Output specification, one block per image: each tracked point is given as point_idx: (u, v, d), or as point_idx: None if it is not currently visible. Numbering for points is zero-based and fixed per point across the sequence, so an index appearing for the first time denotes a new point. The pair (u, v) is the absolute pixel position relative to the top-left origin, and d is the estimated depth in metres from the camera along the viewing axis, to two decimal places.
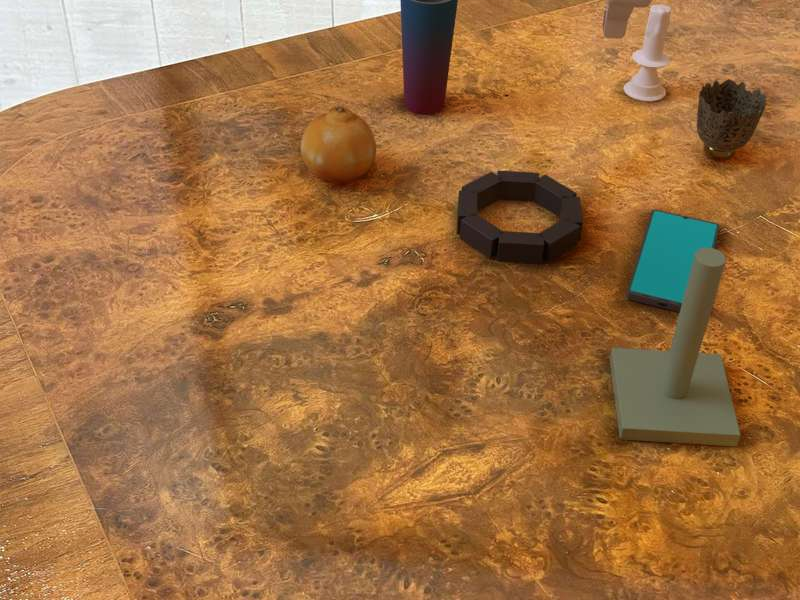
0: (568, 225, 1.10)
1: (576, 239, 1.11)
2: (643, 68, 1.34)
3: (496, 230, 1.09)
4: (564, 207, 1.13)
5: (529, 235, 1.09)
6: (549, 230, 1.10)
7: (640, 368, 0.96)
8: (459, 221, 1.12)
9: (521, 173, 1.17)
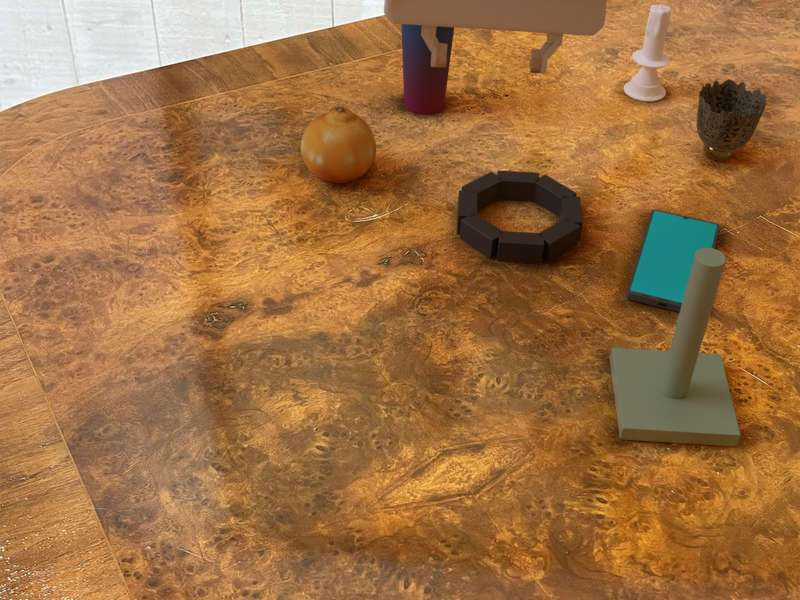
0: (568, 225, 1.10)
1: (576, 239, 1.11)
2: (643, 68, 1.34)
3: (496, 230, 1.09)
4: (564, 207, 1.13)
5: (529, 235, 1.09)
6: (549, 230, 1.10)
7: (640, 368, 0.96)
8: (459, 221, 1.12)
9: (521, 173, 1.17)
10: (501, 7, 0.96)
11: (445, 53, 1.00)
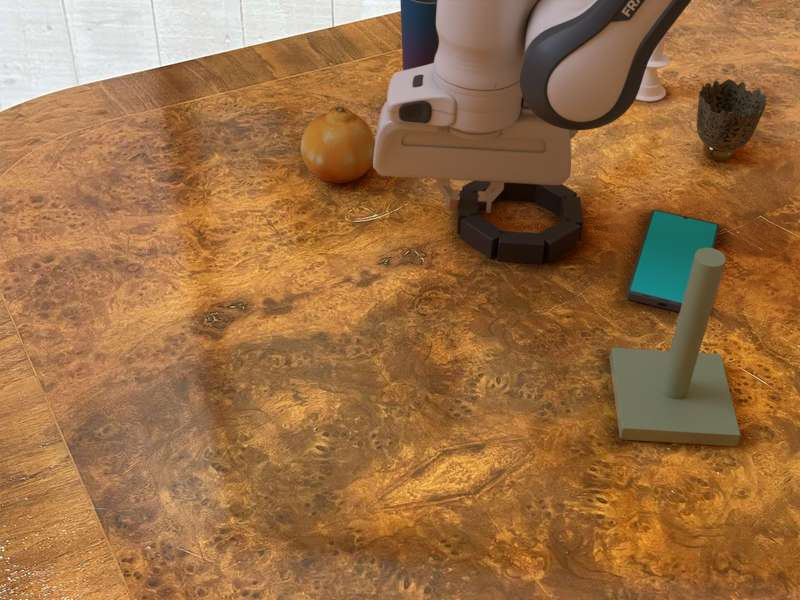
0: (569, 225, 1.10)
1: (576, 239, 1.11)
2: None
3: (496, 230, 1.09)
4: (564, 207, 1.13)
5: (529, 235, 1.09)
6: (549, 230, 1.10)
7: (640, 368, 0.96)
8: (459, 221, 1.12)
9: None
10: (477, 163, 1.07)
11: (458, 200, 1.12)
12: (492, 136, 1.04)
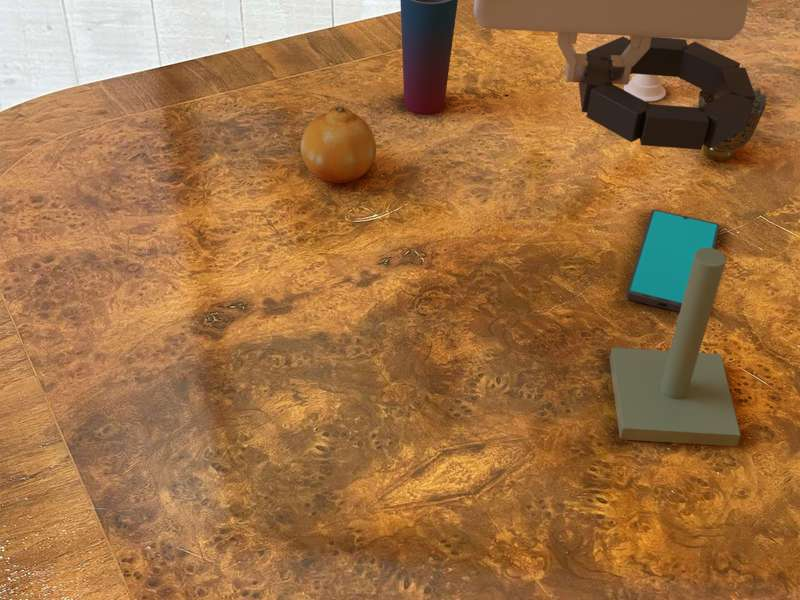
0: (738, 100, 0.81)
1: (745, 120, 0.82)
2: None
3: (641, 103, 0.80)
4: (727, 78, 0.84)
5: (687, 110, 0.80)
6: (712, 105, 0.81)
7: (640, 368, 0.96)
8: (587, 93, 0.83)
9: (663, 39, 0.88)
10: (618, 7, 0.78)
11: (585, 65, 0.83)
12: None
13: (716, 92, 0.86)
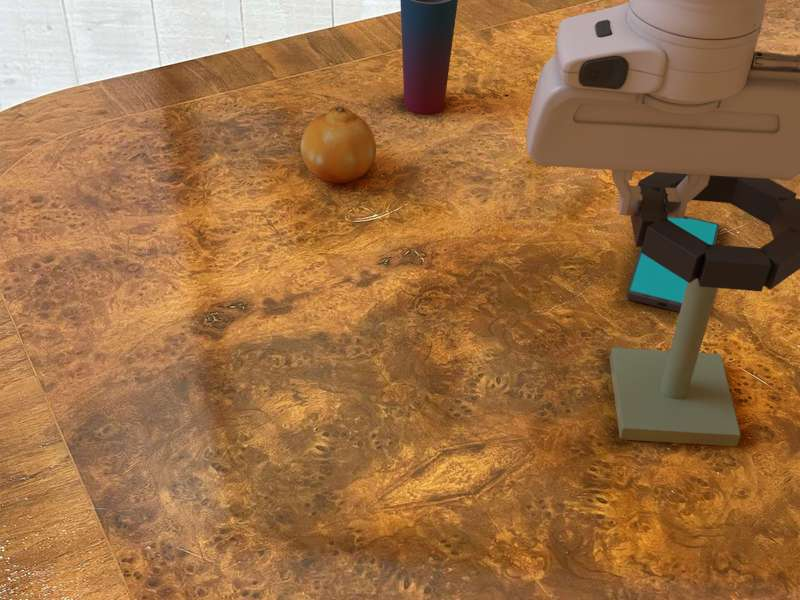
0: (798, 239, 0.79)
1: None
2: None
3: (700, 243, 0.78)
4: (785, 212, 0.81)
5: (747, 251, 0.78)
6: (772, 245, 0.78)
7: (640, 368, 0.96)
8: (642, 229, 0.80)
9: None
10: (678, 147, 0.76)
11: (640, 200, 0.80)
12: (708, 109, 0.73)
13: (772, 223, 0.84)
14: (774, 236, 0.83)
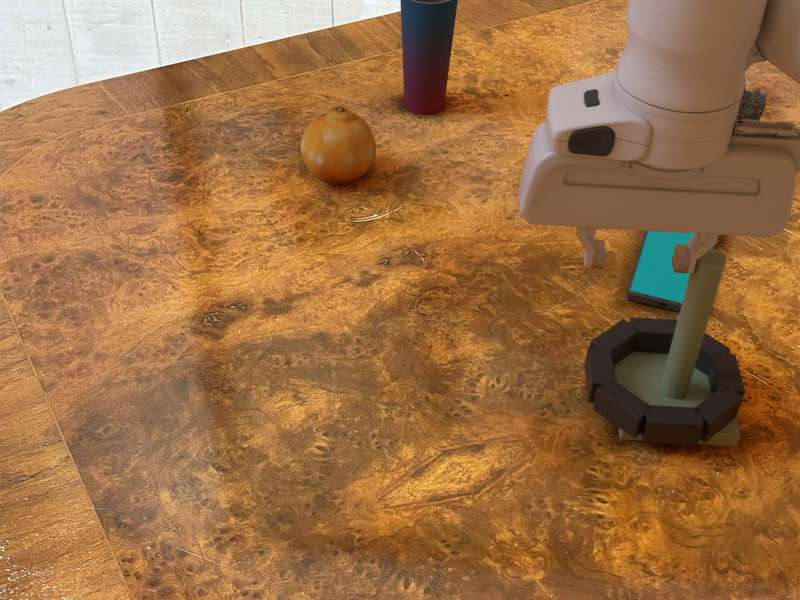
0: (729, 396, 0.90)
1: (736, 411, 0.91)
2: None
3: (642, 404, 0.89)
4: (719, 369, 0.93)
5: (683, 411, 0.89)
6: (706, 403, 0.90)
7: (640, 368, 0.96)
8: (593, 389, 0.92)
9: (659, 321, 0.97)
10: (663, 208, 0.79)
11: (604, 254, 0.84)
12: (692, 174, 0.76)
13: (709, 375, 0.95)
14: (711, 388, 0.94)
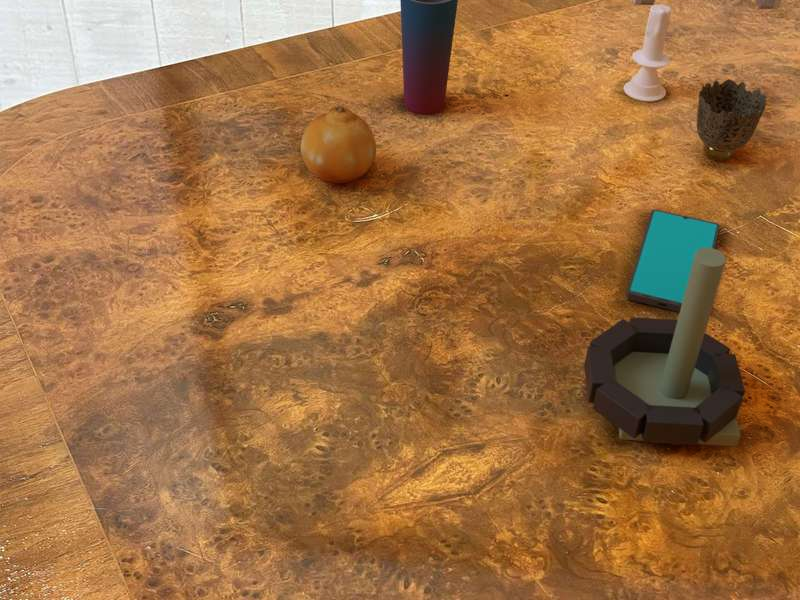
0: (729, 396, 0.90)
1: (736, 411, 0.91)
2: (643, 68, 1.34)
3: (642, 404, 0.89)
4: (719, 369, 0.93)
5: (683, 411, 0.89)
6: (706, 403, 0.90)
7: (640, 368, 0.96)
8: (593, 389, 0.92)
9: (659, 321, 0.97)
10: None
11: None
12: None
13: (709, 375, 0.95)
14: (711, 388, 0.94)
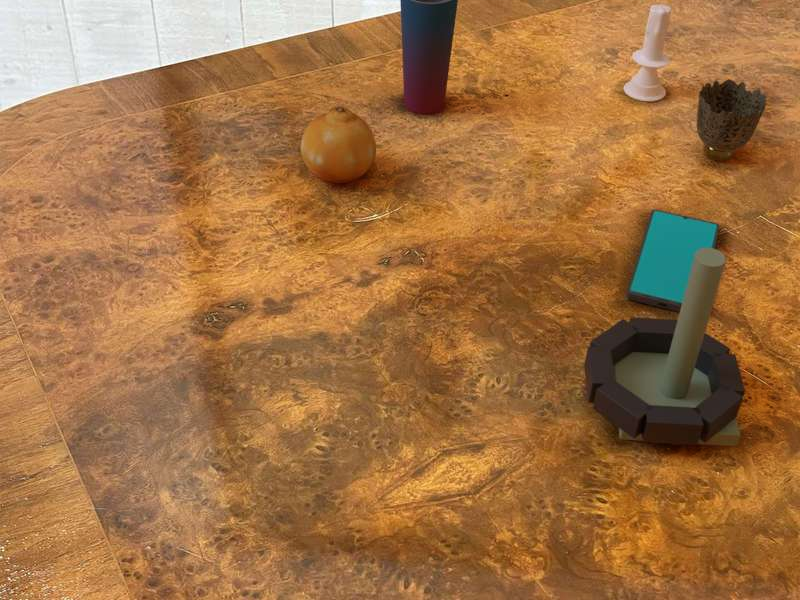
0: (729, 396, 0.90)
1: (736, 411, 0.91)
2: (643, 68, 1.34)
3: (642, 404, 0.89)
4: (719, 369, 0.93)
5: (683, 411, 0.89)
6: (706, 403, 0.90)
7: (640, 368, 0.96)
8: (593, 389, 0.92)
9: (659, 321, 0.97)
10: None
11: None
12: None
13: (709, 375, 0.95)
14: (711, 388, 0.94)
